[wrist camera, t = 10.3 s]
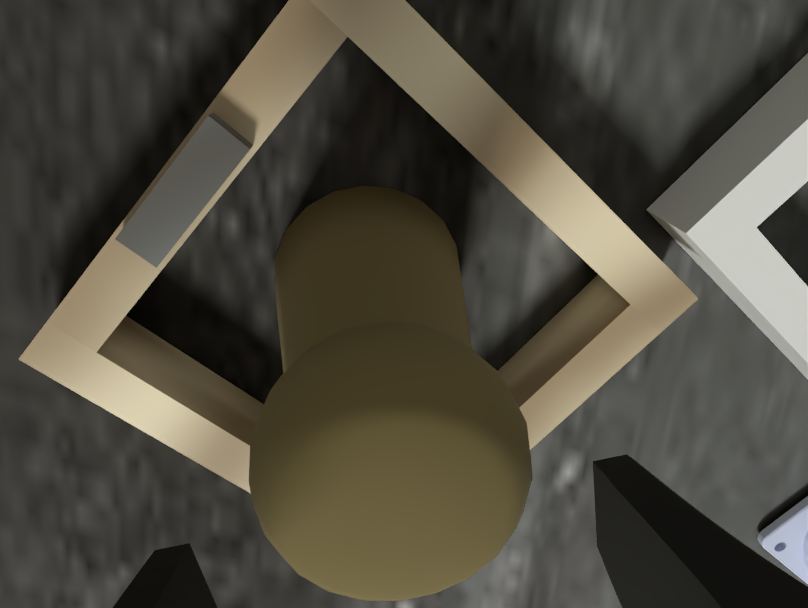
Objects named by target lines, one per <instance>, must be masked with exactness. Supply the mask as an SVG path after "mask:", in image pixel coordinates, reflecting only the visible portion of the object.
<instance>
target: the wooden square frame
mask: <svg viewBox="0 0 808 608" xmlns="http://www.w3.org/2000/svg"><path fill="white" fill-rule="evenodd" d="M347 37H349V38H350V39H351V40H352V41H353V42H354V43H355V44H356V45H357V46H358V47H359V48H360V49H361V50H362V51H363V52H365V53H366V54H367V55H368V56H369V57H370V58H371V59H372V60H373V61H374V62H375V63H376V64H377V65H378V66H379V67H380V68H381V69H382V70H384V71H385V72H386V73H387V74H388V75H389V76H390V77H391V78H392V79H393V80H394V81H395V82H396V83H397V84H398V85H399V86H400V87H401V88H403V89H404V90H405V91H406V92H407V93H408V94H409V95H410V96H411V97H412V98H413V99H414V100H415V101H416V102H417V103H418V104H419V105H420V106H421V107H423V108H424V109H425V110H426V111H427V112H428V113H429V114H430V115H431V116H432V117H433V118H434V119H435V120H436V121H437V122H438V123H439V124H440V125H442V126H443V127H444V128H445V129H446V130H447V131H448V132H449V133H450V134H451V135H452V136H453V137H454V138H455V139H456V140H457V141H458V142H459V143H460V144H462V145H463V146H464V147H465V148H466V149H467V150H468V151H469V152H470V153H471V154H472V155H473V156H474V157H475V158H476V159H477V160H478V161H479V162H481V163H482V164H483V165H484V166H485V167H486V168H487V169H488V170H489V171H490V172H491V173H492V174H493V175H494V176H495V177H496V178H497V179H498V180H499V181H501V182H502V183H503V184H504V185H505V186H506V187H507V188H508V189H509V190H510V191H511V192H512V193H513V194H514V195H515V196H516V197H517V198H518V199H520V200H521V201H522V202H523V203H524V204H525V205H526V206H527V207H528V208H529V209H530V210H531V211H532V212H533V213H534V214H535V215H536V216H537V217H539V218H540V219H541V220H542V221H543V222H544V223H545V224H546V225H547V226H548V227H549V228H550V229H551V230H552V231H553V232H554V233H555V234H556V235H557V236H559V237H560V238H561V239H562V240H563V241H564V242H565V243H566V244H567V245H568V246H569V247H570V248H571V249H572V250H573V251H574V252H575V253H576V254H578V255H579V256H580V257H581V258H582V259H583V260H584V261H585V262H586V263H587V264H588V265H589V266H590V267H591V268H592V269H593V270H594V271H595V272H596V273H598V275H597V276H596V277H595V278H594V279H593V280H592V281H591V282H590V283H589V284H588V285H587V286H586V287H584V288H583V289H582V290H581V291H580V292H579V293H578V294H577V295H576V296H575V297H574V298H573V299H572V300H571V301H570V302H569V303H568V304H567V305H566V306H565V307H564V308H563V309H562V310H561V311H559V312H558V313H557V314H556V315H555V316H554V317H553V318H552V319H551V320H550V321H549V322H548V323H547V324H546V325H545V326H544V327H543V328H542V329H541V330H540V331H539V332H538V333H537V334H535V335H534V336H533V337H532V338H531V339H530V340H529V341H528V342H527V343H526V344H525V345H524V346H523V347H522V348H521V349H520V350H519V351H518V352H517V353H516V354H515V355H514V356H513V357H512V358H510V359H509V360H508V361H507V362H506V363H505V364H504V365H503V366H502V367H501V368H500V369H499V370H498V372H499V373H500V374H501V375H502V377H503V379H504V381H505V383H506V385H507V386H508V388H509V390H510V392H511V394H512V395H513V397H514V399H515V401H516V403H517V404H518V406H519V408H520V410H521V412H522V414H523V416H524V418H525V420H526V422H527V429H528V438H529V446H530V450H531V449H532V448H533V447H534V446H535V445H536V444H537V443H538V442H540V441H541V440H542V439H543V438H544V437H545V436H546V435H547V434H548V433H550V432H551V431H552V430H553V429H554V428H555V427H556V426H557V425H558V424H560V423H561V422H562V421H563V420H564V419H565V418H566V417H567V416H568V415H570V414H571V413H572V412H573V411H574V410H575V409H576V408H577V407H579V406H580V405H581V404H582V403H583V402H584V401H585V400H586V399H587V398H589V397H590V396H591V395H592V394H593V393H594V392H595V391H596V390H597V389H599V388H600V387H601V386H602V385H603V384H604V383H605V382H606V381H607V380H609V379H610V378H611V377H612V376H613V375H614V374H615V373H616V372H617V371H619V370H620V369H621V368H622V367H623V366H624V365H625V364H626V363H627V362H629V361H630V360H631V359H632V358H633V357H634V356H635V355H636V354H637V353H639V352H640V351H641V350H642V349H643V348H644V347H645V346H646V345H648V344H649V343H650V342H651V341H652V340H653V339H654V338H655V337H656V336H658V335H659V334H660V333H661V332H662V331H663V330H664V329H665V328H666V327H668V326H669V325H670V324H671V323H672V322H673V321H674V320H675V319H676V318H678V317H679V316H680V315H681V314H682V313H683V312H684V311H685V310H686V309H688V308H689V307H690V306H691V305H692V304H693V303H694V302H695V301H696V300H698V298H697V297H696V296H695V295H694V294H693V292H692V291H691V290H690V289H689V288H688V287H687V286H686V285H685V284H684V283H683V282H682V281H681V280H680V279H679V278H678V277H677V276H676V275H675V274H674V273H673V272H672V271H671V270H670V269H669V268H668V267H667V266H666V265H665V264H664V263H663V262H662V261H661V260H660V259H659V258H658V257H657V256H656V255H655V254H654V253H653V252H652V251H651V250H650V249H649V248H648V247H647V246H646V245H645V244H644V243H643V242H642V241H641V240H640V239H639V238H638V237H637V236H636V235H635V233H634V232H633V231H632V230H631V229H630V228H629V227H628V226H627V225H626V224H625V223H624V222H623V221H622V220H621V219H620V218H619V217H618V216H617V215H616V214H615V213H614V212H613V211H612V210H611V209H610V208H609V207H608V206H607V205H606V204H605V203H604V202H603V201H602V200H601V199H600V198H599V197H598V196H597V195H596V194H595V193H594V192H593V191H592V190H591V189H590V188H589V187H588V186H587V185H586V184H585V183H584V182H583V181H582V180H581V179H580V178H579V177H578V176H577V174H576V173H575V172H574V171H573V170H572V169H571V168H570V167H569V166H568V165H567V164H566V163H565V162H564V161H563V160H562V159H561V158H560V157H559V156H558V155H557V154H556V153H555V152H554V151H553V150H552V149H551V148H550V147H549V146H548V145H547V144H546V143H545V142H544V141H543V140H542V139H541V138H540V137H539V136H538V135H537V134H536V133H535V132H534V131H533V130H532V129H531V128H530V127H529V126H528V125H527V124H526V123H525V122H524V121H523V120H522V119H521V118H520V117H519V116H518V114H517V113H516V112H515V111H514V110H513V109H512V108H511V107H510V106H509V105H508V104H507V103H506V102H505V101H504V100H503V99H502V98H501V97H500V96H499V95H498V94H497V93H496V92H495V91H494V90H493V89H492V88H491V87H490V86H489V85H488V84H487V83H486V82H485V81H484V80H483V79H482V78H481V77H480V76H479V75H478V74H477V73H476V72H475V71H474V70H473V69H472V68H471V67H470V66H469V65H468V64H467V63H466V62H465V61H464V60H463V59H462V58H461V57H460V55H459V54H458V53H457V52H456V51H455V50H454V49H453V48H452V47H451V46H450V45H449V44H448V43H447V42H446V41H445V40H444V39H443V38H442V37H441V36H440V35H439V34H438V33H437V32H436V31H435V30H434V29H433V28H432V27H431V26H430V25H429V24H428V23H427V22H426V21H425V20H424V19H423V18H422V17H421V16H420V15H419V14H418V13H417V12H416V11H415V10H414V9H413V8H412V7H411V6H410V5H409V4H408V3H407V2H406V1H405V0H289V1H288V2H287V3H286V5H285V6H284V7H283V9H282V10H281V11H280V13H279V14H278V15H277V17H276V18H275V19H274V21H273V22H272V23H271V25H270V26H269V27H268V29H267V30H266V31H265V33H264V34H263V35H262V37H261V38H260V39H259V41H258V42H257V43H256V45H255V46H254V47H253V49H252V50H251V51H250V53H249V54H248V55H247V57H246V58H245V59H244V61H243V62H242V63H241V65H240V66H239V67H238V69H237V70H236V71H235V72H234V74H233V75H232V76H231V78H230V79H229V80H228V82H227V83H226V84H225V86H224V87H223V88H222V90H221V91H220V92H219V94H218V95H217V96H216V98H215V99H214V100H213V102H212V103H211V104H210V106H209V107H208V108H207V110H206V111H205V112H204V114H203V115H202V116H201V118H200V119H199V120H198V122H197V123H196V124H195V126H194V127H193V128H192V130H191V131H190V132H189V134H188V135H187V136H186V138H185V139H184V140H183V142H182V143H181V144H180V146H179V147H178V148H177V150H176V151H175V152H174V154H173V155H172V156H171V157H170V159H169V160H168V161H167V163H166V164H165V165H164V167H163V168H162V169H161V171H160V172H159V173H158V175H157V176H156V177H155V179H154V180H153V181H152V183H151V184H150V185H149V187H148V188H147V189H146V191H145V192H144V193H143V195H142V196H141V197H140V199H139V200H138V201H137V203H136V204H135V205H134V207H133V208H132V209H131V211H130V212H129V213H128V215H127V216H126V217H125V219H124V220H123V221H122V223H121V224H120V225H119V227H118V228H117V229H116V231H115V232H114V233H113V235H112V236H111V237H110V239H109V240H108V241H107V243H106V244H105V245H104V246H103V248H102V249H101V250H100V252H99V253H98V254H97V256H96V257H95V258H94V260H93V261H92V262H91V264H90V265H89V266H88V268H87V269H86V270H85V272H84V273H83V274H82V276H81V277H80V278H79V280H78V281H77V282H76V284H75V285H74V286H73V288H72V289H71V290H70V292H69V293H68V294H67V296H66V297H65V298H64V300H63V301H62V302H61V304H60V305H59V306H58V308H57V309H56V310H55V312H54V313H53V314H52V316H51V317H50V318H49V320H48V321H47V322H46V324H45V325H44V326H43V328H42V329H41V330H40V332H39V333H38V334H37V335H36V337H35V338H34V339H33V341H32V342H31V343H30V345H29V346H28V347H27V349H26V350H25V351H24V353H23V354H22V355H21V357H20V358H19V360H20V361H22V362H24V363H26V364H27V365H29V366H31V367H33V368H34V369H36V370H38V371H39V372H41V373H43V374H45V375H46V376H48V377H50V378H52V379H53V380H55V381H57V382H59V383H60V384H62V385H64V386H65V387H67V388H69V389H71V390H72V391H74V392H76V393H78V394H79V395H81V396H83V397H85V398H86V399H88V400H90V401H91V402H93V403H95V404H97V405H98V406H100V407H102V408H104V409H105V410H107V411H109V412H111V413H112V414H114V415H116V416H117V417H119V418H121V419H123V420H124V421H126V422H128V423H130V424H131V425H133V426H135V427H137V428H138V429H140V430H142V431H143V432H145V433H147V434H149V435H150V436H152V437H154V438H156V439H157V440H159V441H161V442H163V443H164V444H166V445H168V446H169V447H171V448H173V449H175V450H176V451H178V452H180V453H182V454H183V455H185V456H187V457H189V458H190V459H192V460H194V461H195V462H197V463H199V464H201V465H202V466H204V467H206V468H208V469H209V470H211V471H213V472H215V473H216V474H218V475H220V476H222V477H223V478H225V479H227V480H228V481H230V482H232V483H234V484H235V485H237V486H239V487H241V488H242V489H244V490H246V491H248V492H249V493H251V492H250V486H249V460H250V443H251V439H252V434H253V430H254V426H255V423H256V421H257V419H258V416H259V414H260V412H261V410H262V408H263V405H264V404H262V403H261V402H259V401H258V400H256V399H255V398H253V397H252V396H250V395H248V394H247V393H245V392H244V391H242V390H241V389H239V388H238V387H236V386H234V385H233V384H231V383H230V382H228V381H227V380H225V379H224V378H222V377H220V376H219V375H217V374H216V373H214V372H213V371H211V370H210V369H208V368H206V367H205V366H203V365H202V364H200V363H199V362H197V361H196V360H194V359H192V358H191V357H189V356H188V355H186V354H185V353H183V352H182V351H180V350H178V349H177V348H175V347H174V346H172V345H171V344H169V343H168V342H166V341H164V340H163V339H161V338H160V337H158V336H157V335H155V334H154V333H152V332H150V331H149V330H147V329H146V328H144V327H143V326H141V325H140V324H138V323H136V322H135V321H133V320H132V319H130V318H129V317H127V316H126V315H127V313H128V312H129V311H130V310H131V308H132V307H133V306H134V305H135V303H136V302H137V301H138V300H139V298H140V297H141V296H142V295H143V293H144V292H145V291H146V290H147V288H148V287H149V286H150V284H151V283H152V282H153V281H154V279H155V278H156V277H157V276H158V274H159V273H160V272H161V271H162V269H163V268H164V267H165V266H166V264H167V263H168V262H169V261H170V259H171V258H172V257H173V256H174V254H175V253H176V252H177V251H178V249H179V248H180V247H181V246H182V244H183V243H184V242H185V240H186V239H187V238H188V237H189V235H190V234H191V233H192V232H193V230H194V229H195V228H196V227H197V225H198V224H199V223H200V222H201V220H202V219H203V218H204V217H205V215H206V214H207V213H208V212H209V210H210V209H211V208H212V207H213V205H214V204H215V203H216V202H217V200H218V199H219V198H220V196H221V195H222V194H223V193H224V191H225V190H226V189H227V188H228V186H229V185H230V184H231V183H232V181H233V180H234V179H235V178H236V176H237V175H238V174H239V173H240V171H241V170H242V169H243V168H244V166H245V165H246V164H247V163H248V161H249V160H250V159H251V158H252V156H253V155H254V154H255V152H256V151H257V150H258V149H259V147H260V146H261V145H262V144H263V142H264V141H265V140H266V139H267V137H268V136H269V135H270V134H271V132H272V131H273V130H274V129H275V127H276V126H277V125H278V124H279V122H280V121H281V120H282V119H283V117H284V116H285V115H286V114H287V112H288V111H289V110H290V108H291V107H292V106H293V105H294V103H295V102H296V101H297V100H298V98H299V97H300V96H301V95H302V93H303V92H304V91H305V90H306V88H307V87H308V86H309V85H310V83H311V82H312V81H313V80H314V78H315V77H316V76H317V75H318V73H319V72H320V71H321V70H322V68H323V67H324V66H325V64H326V63H327V62H328V61H329V59H330V58H331V57H332V56H333V54H334V53H335V52H336V51H337V49H338V48H339V47H340V46H341V44H342V43H343V42H344V41H345V39H346V38H347Z"/></svg>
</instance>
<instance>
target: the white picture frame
mask: <svg viewBox="0 0 808 608" xmlns="http://www.w3.org/2000/svg"><path fill="white" fill-rule="evenodd" d="M807 181H808V53H807V54H806V55H805V56H804V57H803V58H802V59H801V60H800V61H799V62H798V63H797V64H796V65H795V66H794V67H793V68H792V69H791V70H790V71H789V72H788V73H787V74H786V75H785V76H784V77H782V78H781V79H780V80H779V81H778V82H777V83H776V84H775V85H774V86H773V87H772V88H771V89H770V90H769V91H768V92H767V93H766V94H765V95H764V96H763V97H762V98H761V99H760V100H759V101H758V102H757V103H756V104H755V105H754V106H753V107H752V108H751V109H749V110H748V111H747V112H746V113H745V114H744V115H743V116H742V117H741V118H740V119H739V120H738V121H737V122H736V123H735V124H734V125H733V126H732V127H731V128H730V129H729V130H728V131H727V132H726V133H725V134H724V135H723V136H722V137H721V138H720V139H719V140H718V141H716V142H715V143H714V144H713V145H712V146H711V147H710V148H709V149H708V150H707V151H706V152H705V153H704V154H703V155H702V156H701V157H700V158H699V159H698V160H697V161H696V162H695V163H694V164H693V165H692V166H691V167H690V168H689V169H688V170H687V171H686V172H685V173H683V174H682V175H681V176H680V177H679V178H678V179H677V180H676V181H675V182H674V183H673V184H672V185H671V186H670V187H669V188H668V189H667V190H666V191H665V192H664V193H663V194H662V195H661V196H660V197H659V198H658V199H657V200H656V201H655V202H654V203H653V204H652V205H650V206H649V207H648V208H647V209H646V210H647V211H648V212H649V213H650V214H651V215H652V216H653V217H654V219H655V220H656V221H657V222H658V223H659V224H660V225H661V226H662V227H663V228H664V229H665V230H666V231H667V232H668V233H669V234H670V235H671V236H672V237H673V238H674V240H675V241H676V242H677V243H678V244H679V245H680V246H681V247H682V248H683V249H684V250H685V251H686V252H687V253H688V254H689V255H690V256H691V257H692V258H693V259H694V261H695V262H696V263H697V264H698V265H699V266H700V267H701V268H702V269H703V270H704V271H705V272H706V273H707V274H708V275H709V276H710V277H711V278H712V279H713V280H714V282H715V283H716V284H717V285H718V286H719V287H720V288H721V289H722V290H723V291H724V292H725V293H726V294H727V295H728V296H729V297H730V298H731V299H732V300H733V301H734V303H735V304H736V305H737V306H738V307H739V308H740V309H741V310H742V311H743V312H744V313H745V314H746V315H747V316H748V317H749V318H750V319H751V320H752V321H753V322H754V324H755V325H756V326H757V327H758V328H759V329H760V330H761V331H762V332H763V333H764V334H765V335H766V336H767V337H768V338H769V339H770V340H771V341H772V342H773V343H774V345H775V346H776V347H777V348H778V349H779V350H780V351H781V352H782V353H783V354H784V355H785V356H786V357H787V358H788V359H789V360H790V361H791V362H792V363H793V364H794V366H795V367H796V368H797V369H798V370H799V371H800V372H801V373H802V374H803V375H804V376H805V377H806V378H807V379H808V286H807V285H806V284H805V283H804V282H803V280H802V279H801V278H800V277H799V276H798V275H797V274H796V272H795V271H794V270H793V269H792V268H791V267H790V265H789V264H788V263H787V262H786V261H785V260H784V259H783V257H782V256H781V255H780V254H779V253H778V252H777V251H776V249H775V248H774V247H773V246H772V245H771V244H770V242H769V241H768V240H767V239H766V238H765V237H764V236H763V234H762V233H761V232H760V231H759V230H758V229H757V227H758V226H759V225H760V224H761V223H762V222H763V221H764V220H765V219H766V218H768V217H769V216H770V215H771V214H772V213H773V212H774V211H775V210H776V209H778V208H779V207H780V206H781V205H782V204H783V203H784V202H785V201H786V200H787V199H789V198H790V197H791V196H792V195H793V194H794V193H795V192H796V191H797V190H798V189H800V188H801V187H802V186H803V185H804V184H805V183H806V182H807Z"/></svg>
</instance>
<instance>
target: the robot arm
mask: <svg viewBox="0 0 808 608" xmlns="http://www.w3.org/2000/svg"><path fill="white" fill-rule="evenodd" d="M593 472H594V492H595V512H596V532H597V547H598V549H599V552H600V554H601V557H602V559H603V562H604V565H605V567H606V570H607V572H608V575H609V577H610V579H611V582H612V584H613V587H614V589H615V591H616V594H617V596H618V599H619V601H620V603H621V605H622V607H623V608H808V587H807V586H806V585H804V584H802V583H801V582H799V581H798V580H796V579H795V578H793V577H792V576H790V575H789V574H787V573H786V572H784V571H783V570H781V569H780V568H778V567H777V566H775V565H774V564H772V563H771V562H769V561H768V560H766V559H765V558H763V557H762V556H760V555H759V554H757V553H756V552H754V551H753V550H752V549H750V548H749V547H747V546H746V545H744V544H743V543H742V542H740V541H739V540H738V539H736V538H735V537H733V536H732V535H731V534H729V533H728V532H727V531H725V530H724V529H722V528H721V527H720V526H718V525H717V524H716V523H714V522H713V521H712V520H710V519H709V518H707V517H706V516H705V515H703V514H702V513H701V512H700V511H698V510H697V509H696V508H694V507H693V506H692V505H690V504H689V503H688V502H687V501H685V500H684V499H683V498H681V497H680V496H679V495H678V494H676V493H675V492H674V491H672V490H671V489H670V488H669V487H667V486H666V485H665V484H664V483H662V482H661V481H660V480H659V479H657V478H656V477H655V476H654V475H652V474H651V473H650V472H649V471H648V470H646V469H645V468H644V467H643V466H641V465H640V464H639V463H638V462H636V461H635V460H634V459H633V458H631V457H630V456H628V455H622V456H617V457H612V458H607V459H602V460H597V461H593ZM758 541H759V543H760V544H761V545H762V546H763V548H764V549H766V550H767V551H768V552H769V553H770V554H772V555H773V556H774V557H775V558H777V559H778V560H779V561H780V562H781V563H783V564H784V565H785V566H786V567H787V568H789V569H790V570H791V571H792V572H793V573H795V574H796V575H797V576H798V577H799V578H801V579H802V580H803V581H804V582H806V583H807V584H808V496H807V497H805V498H804V499H803V500H802V501H800V502H799V503H798V504H796V505H795V506H794V507H792V508H791V509H790V510H788V511H787V512H786V513H784V514H783V515H782V516H780V517H779V518H778V519H776V520H775V521H774V522H772V523H771V524H770V525H768V526H767V527H766V528H764V529H763V530H762V531H761V532H760V533H759V535H758ZM113 608H217V606H216V604H215V601H214V599H213V597H212V594H211V592H210V590H209V587H208V585H207V583H206V581H205V578H204V576H203V574H202V571H201V569H200V567H199V564H198V562H197V560H196V558H195V555H194V553H193V551H192V548H191V546H190V544H184V545H179V546H174V547H169V548H164V549H159V550H155V551H154V552H153V554H152V555H151V556H150V558H149V559H148V560H147V562H146V563H145V564H144V566H143V567H142V568H141V570H140V571H139V572H138V574H137V575H136V577H135V578H134V579H133V581H132V582H131V583H130V585H129V586H128V587H127V589H126V590H125V592H124V593H123V594H122V596H121V597H120V598H119V600H118V601H117V603H116V604H115V605H114V607H113Z"/></svg>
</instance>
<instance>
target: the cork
mask: <svg viewBox="0 0 808 608" xmlns="http://www.w3.org/2000/svg"><path fill="white" fill-rule="evenodd" d="M274 285H275V295H276V305H277V315H278V325H279V335H280V345H281V355H282V365H283V374H282V375H281V377H280V378H279V379H278V381H277V382H276V383H275V385H274V386H273V387H272V389H271V390H270V392H269V394H268V397H267V399H266V401H265V403H264V405H263V408H262V410H261V412H260V414H259V416H258V419H257V421H256V423H255V426H254V430H253V434H252V439H251V443H250V460H249V486H250V492H251V498H252V503H253V505H254V508H255V511H256V513H257V516H258V519H259V521H260V524H261V527H262V529H263V532H264V535H265V536H266V537H267V538H268V540H269V541H270V542H271V543H272V545H273V546H274V547H275V549H276V550H277V551H278V552H279V553H280V554H281V555H282V557H283V558H284V559H285V560H286V561H287V562H288V563H289V564H290V565H291V567H292V568H293V569H294V570H295V571H296V572H297V573H298V574H299V575H300V576H302V577H304V578H306V579H307V580H309V581H311V582H313V583H314V584H316V585H318V586H320V587H321V588H323V589H325V590H327V591H329V592H333V593H336V594H340V595H344V596H348V597H352V598H356V599H360V600H376V601H402V600H407V599H411V598H416V597H421V596H425V595H430V594H435V593H438V592H440V591H442V590H444V589H447V588H449V587H451V586H453V585H455V584H457V583H459V582H462V581H464V580H466V579H468V578H470V577H471V576H473V575H474V574H475V573H476V572H477V571H479V570H480V569H481V568H482V567H484V566H485V565H486V564H487V563H489V562H490V561H491V560H492V559H493V558H495V557H496V556H497V555H498V554H499V552H500V551H501V549H502V548H503V546H504V545H505V543H506V542H507V541H508V539H509V538H510V536H511V535H512V533H513V532H514V530H515V529H516V527H517V525H518V522H519V520H520V518H521V515H522V513H523V510H524V507H525V503H526V499H527V496H528V492H529V488H530V485H531V481H532V467H531V455H530V446H529V438H528V429H527V422H526V420H525V418H524V416H523V414H522V412H521V410H520V408H519V406H518V404H517V403H516V401H515V399H514V397H513V395H512V394H511V392H510V390H509V388H508V386H507V385H506V383H505V381H504V379H503V377H502V375H501V374H500V373H499V372H498V371H497V370H496V369H495V368H493V367H492V366H491V365H490V364H489V363H488V362H486V361H485V360H484V359H483V358H482V357H480V356H479V355H478V354H477V353H476V352H475V351H473V350H472V347H471V340H470V333H469V326H468V320H467V313H466V306H465V299H464V292H463V286H462V279H461V272H460V265H459V259H458V252H457V246H456V244H455V242H454V240H453V238H452V236H451V234H450V232H449V230H448V228H447V227H446V225H445V223H444V221H443V220H442V219H441V218H440V217H439V216H438V215H437V214H436V213H435V212H433V211H432V210H431V209H430V208H429V207H428V206H427V205H426V204H425V203H424V202H423V201H421V200H419V199H417V198H415V197H412V196H410V195H408V194H406V193H404V192H401V191H399V190H397V189H395V188H386V187H377V186H368V185H362V186H357V187H352V188H347V189H342V190H337V191H333V192H331V193H330V194H328V195H326V196H324V197H322V198H321V199H319V200H317V201H315V202H314V203H312V204H310V205H308V206H307V207H306V208H305V209H304V210H303V211H302V212H301V213H300V214H299V216H298V217H297V218H296V219H295V220H294V221H293V222H292V223H291V224H290V226H289V227H288V228H287V229H286V232H285V234H284V236H283V239H282V241H281V244H280V246H279V248H278V251H277V253H276V259H275V278H274Z"/></svg>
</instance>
